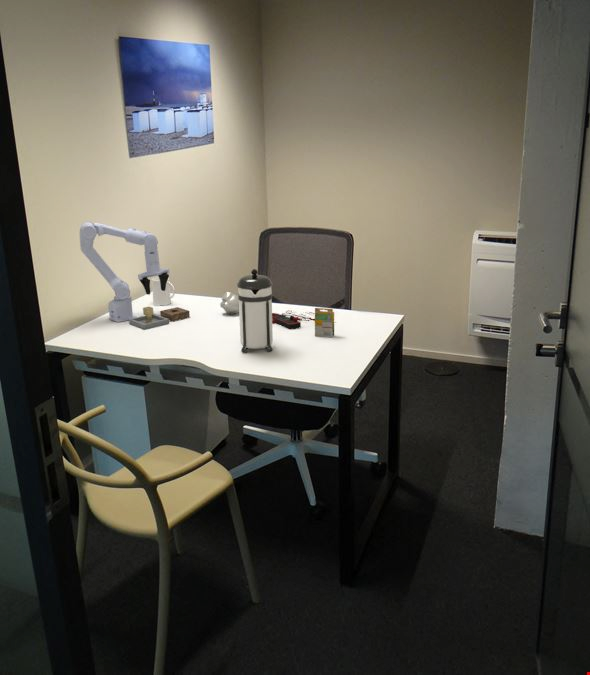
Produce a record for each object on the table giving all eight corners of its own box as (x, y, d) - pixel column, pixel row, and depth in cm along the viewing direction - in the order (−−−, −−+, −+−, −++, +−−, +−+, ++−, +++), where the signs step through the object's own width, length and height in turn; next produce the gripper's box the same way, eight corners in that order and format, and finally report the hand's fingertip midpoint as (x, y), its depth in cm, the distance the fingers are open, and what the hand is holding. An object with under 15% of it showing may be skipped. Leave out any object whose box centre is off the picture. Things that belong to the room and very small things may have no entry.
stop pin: (148, 324, 283) (146, 309, 281) (144, 322, 285) (142, 307, 283) (154, 322, 285) (153, 307, 283) (150, 321, 287) (149, 306, 285)
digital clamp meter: (291, 323, 270) (259, 309, 290) (291, 333, 271) (259, 319, 291) (338, 313, 282) (304, 301, 302) (338, 324, 283) (305, 310, 303)
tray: (144, 329, 277) (144, 324, 276) (129, 323, 285) (128, 319, 285) (169, 323, 285) (169, 319, 284) (153, 318, 293) (153, 313, 293)
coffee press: (287, 347, 253) (285, 268, 244) (254, 357, 243) (252, 275, 234) (256, 337, 265) (254, 262, 256) (224, 346, 254) (220, 268, 245)
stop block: (172, 321, 288) (171, 314, 287) (160, 317, 294) (160, 311, 293) (189, 317, 294) (189, 310, 293) (177, 313, 300) (177, 307, 299)
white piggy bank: (222, 311, 303) (221, 289, 300) (243, 311, 303) (242, 289, 300) (219, 316, 295) (218, 294, 291) (241, 316, 294) (240, 294, 291)
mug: (180, 303, 317) (178, 278, 313) (168, 307, 310) (166, 282, 306) (161, 300, 323) (159, 275, 319) (149, 304, 316) (147, 279, 312)
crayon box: (334, 335, 267) (334, 307, 263) (332, 337, 264) (332, 309, 260) (316, 334, 268) (316, 305, 265) (314, 336, 266) (314, 307, 262)
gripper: (142, 265, 283) (146, 297, 287) (171, 259, 292) (175, 290, 296) (133, 263, 288) (137, 294, 292) (162, 257, 297) (166, 287, 301)
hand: (155, 292), depth 294 cm, fingers open, 7 cm apart
